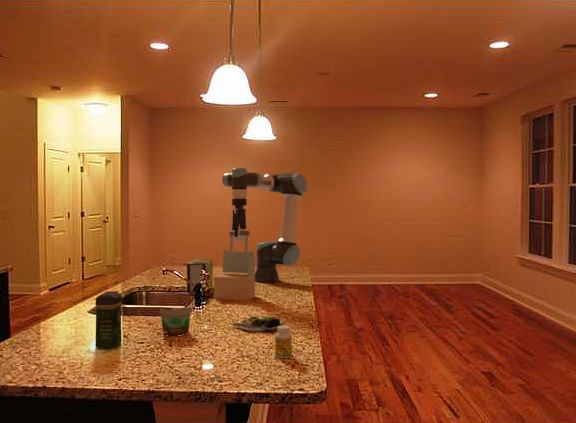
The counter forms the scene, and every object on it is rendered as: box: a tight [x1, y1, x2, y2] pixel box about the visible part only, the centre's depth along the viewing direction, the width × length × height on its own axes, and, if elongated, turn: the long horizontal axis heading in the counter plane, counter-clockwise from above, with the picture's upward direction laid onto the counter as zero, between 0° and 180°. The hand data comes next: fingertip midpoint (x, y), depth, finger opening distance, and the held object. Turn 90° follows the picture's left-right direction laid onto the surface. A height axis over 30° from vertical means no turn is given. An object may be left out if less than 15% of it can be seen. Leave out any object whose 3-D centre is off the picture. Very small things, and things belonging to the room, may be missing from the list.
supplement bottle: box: [274, 325, 293, 359], centre depth 162 cm, size 5×5×10 cm
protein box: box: [186, 259, 214, 293], centre depth 272 cm, size 10×15×16 cm
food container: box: [158, 304, 193, 337], centre depth 186 cm, size 12×6×10 cm, turn 117°
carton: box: [213, 254, 256, 302], centre depth 252 cm, size 10×18×21 cm, turn 76°
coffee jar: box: [94, 290, 123, 350], centre depth 173 cm, size 10×8×19 cm
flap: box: [222, 229, 255, 274], centre depth 258 cm, size 22×16×2 cm
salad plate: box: [232, 316, 283, 333], centre depth 198 cm, size 19×18×5 cm
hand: (239, 242), depth 259 cm, fingers open, 8 cm apart
